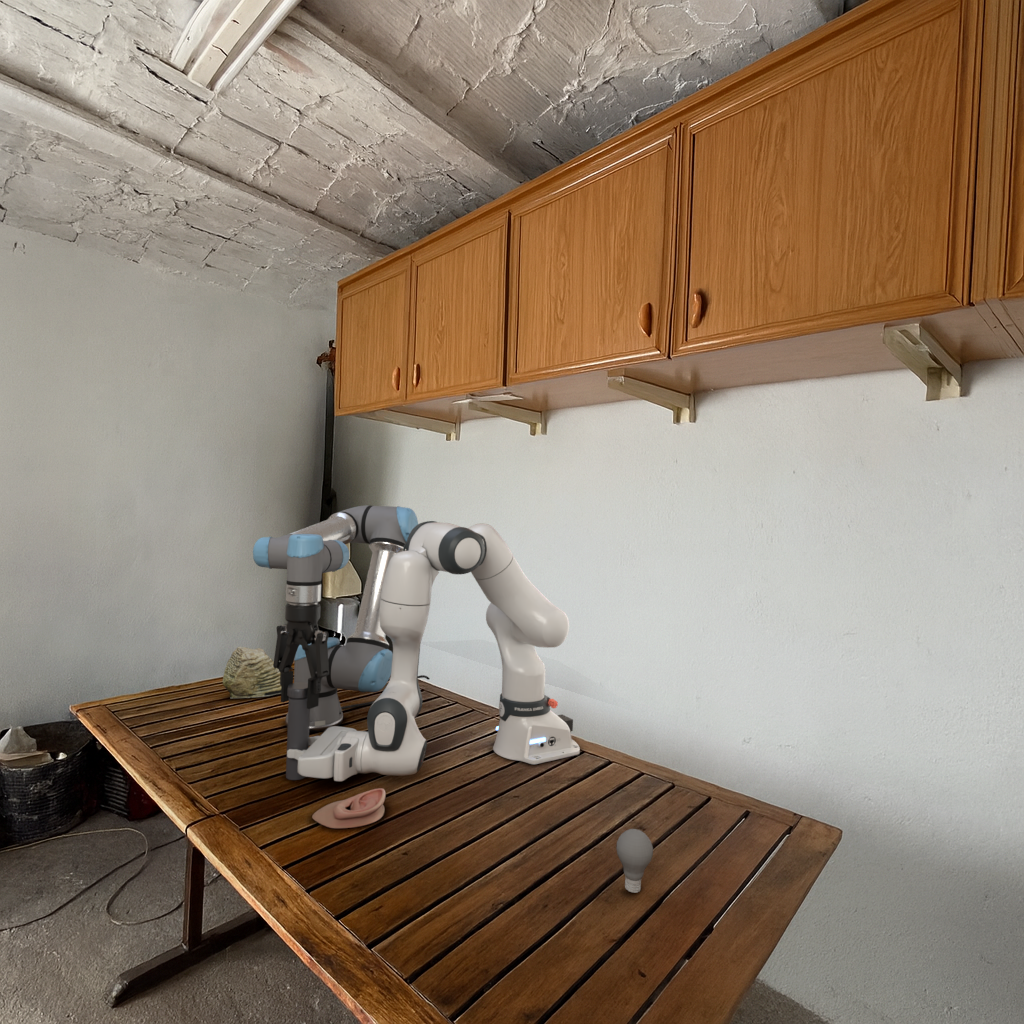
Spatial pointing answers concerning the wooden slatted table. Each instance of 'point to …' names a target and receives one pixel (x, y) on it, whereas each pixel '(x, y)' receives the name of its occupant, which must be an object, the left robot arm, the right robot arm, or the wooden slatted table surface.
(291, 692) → the lid
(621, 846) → the light bulb
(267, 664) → the fossil
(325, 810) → the anatomical model
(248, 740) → the wooden slatted table surface
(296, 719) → the dark grey cylinder
